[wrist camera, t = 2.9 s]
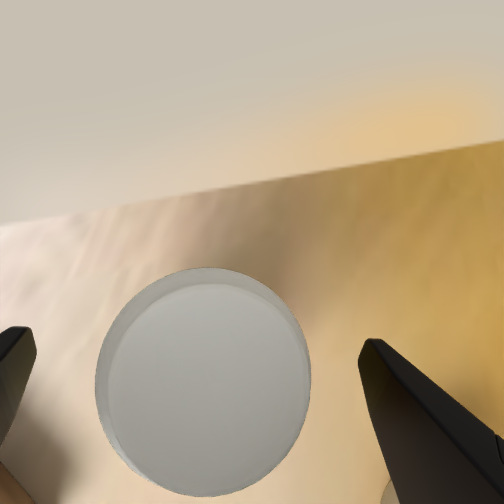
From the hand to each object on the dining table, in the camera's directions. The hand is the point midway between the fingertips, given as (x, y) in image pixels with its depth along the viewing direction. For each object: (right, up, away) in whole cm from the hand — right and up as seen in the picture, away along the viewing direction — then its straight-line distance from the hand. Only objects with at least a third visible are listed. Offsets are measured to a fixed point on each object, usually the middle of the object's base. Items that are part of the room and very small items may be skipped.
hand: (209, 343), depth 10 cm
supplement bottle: (-1, -2, +7) cm, 8 cm away
